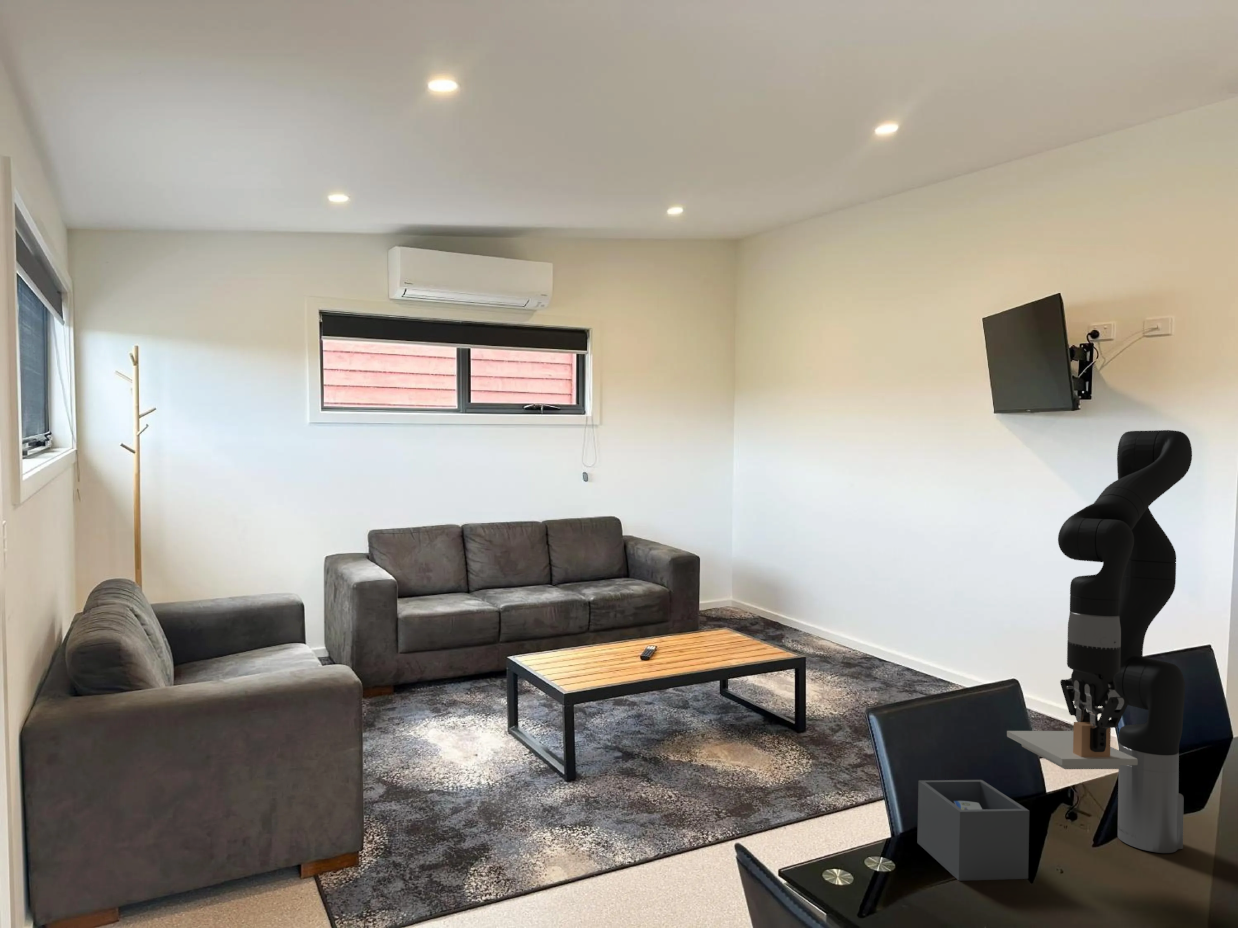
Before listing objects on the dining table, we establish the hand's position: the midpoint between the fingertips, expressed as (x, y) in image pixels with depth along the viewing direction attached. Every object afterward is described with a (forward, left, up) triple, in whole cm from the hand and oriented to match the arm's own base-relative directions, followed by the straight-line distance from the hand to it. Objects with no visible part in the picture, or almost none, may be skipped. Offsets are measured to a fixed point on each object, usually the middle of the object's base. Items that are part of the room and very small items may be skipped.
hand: (1091, 748), depth 133 cm
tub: (+15, -10, -22) cm, 28 cm away
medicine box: (+15, -10, -22) cm, 28 cm away
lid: (0, -5, -3) cm, 6 cm away
